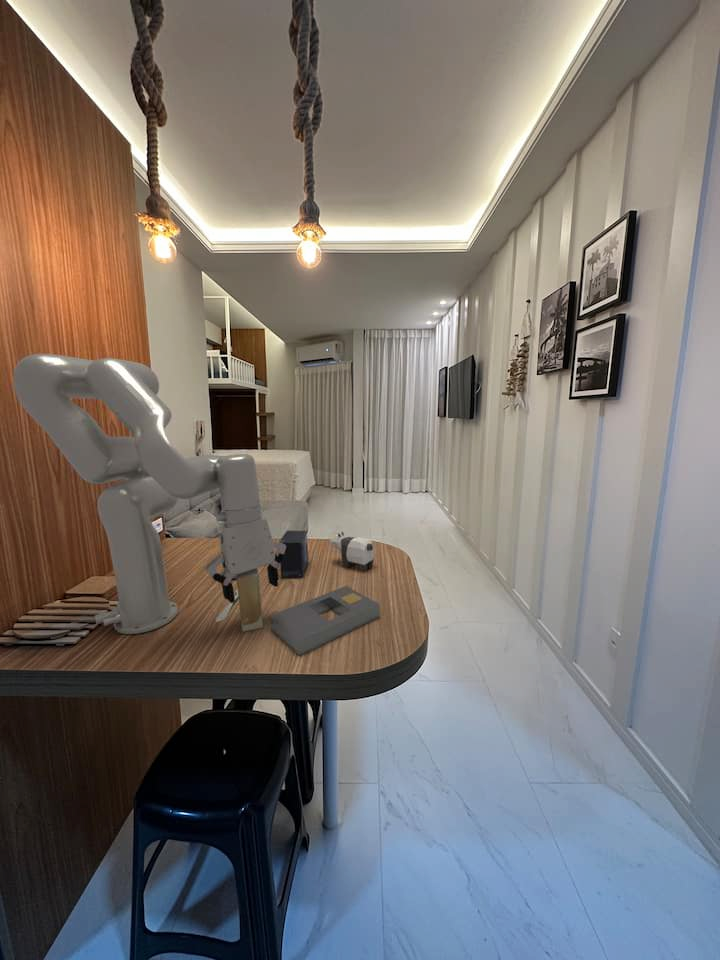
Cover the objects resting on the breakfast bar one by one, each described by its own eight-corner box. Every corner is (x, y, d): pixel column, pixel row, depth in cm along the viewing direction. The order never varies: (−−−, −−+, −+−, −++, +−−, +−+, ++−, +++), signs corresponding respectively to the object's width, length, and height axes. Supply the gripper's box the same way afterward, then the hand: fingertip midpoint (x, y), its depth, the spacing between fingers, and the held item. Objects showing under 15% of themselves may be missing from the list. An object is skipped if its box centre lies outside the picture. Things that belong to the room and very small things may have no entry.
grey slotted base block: (299, 655, 70) (298, 640, 70) (270, 629, 79) (269, 615, 79) (379, 616, 82) (379, 603, 82) (346, 597, 92) (346, 585, 91)
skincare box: (240, 618, 84) (235, 566, 82) (260, 613, 86) (255, 562, 83) (242, 633, 78) (236, 577, 76) (263, 628, 80) (258, 573, 78)
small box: (303, 578, 103) (301, 541, 102) (280, 578, 104) (277, 542, 102) (309, 562, 114) (307, 529, 112) (288, 563, 114) (285, 530, 112)
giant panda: (377, 566, 109) (376, 535, 107) (367, 573, 104) (366, 540, 103) (337, 557, 117) (335, 528, 115) (326, 563, 113) (324, 533, 111)
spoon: (258, 586, 100) (257, 580, 100) (220, 631, 80) (219, 624, 80) (243, 586, 101) (242, 580, 100) (202, 630, 81) (201, 623, 80)
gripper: (205, 528, 69) (218, 614, 72) (288, 508, 80) (297, 584, 83) (193, 521, 75) (205, 601, 78) (272, 503, 86) (281, 574, 89)
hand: (252, 592), depth 81 cm, fingers open, 9 cm apart
